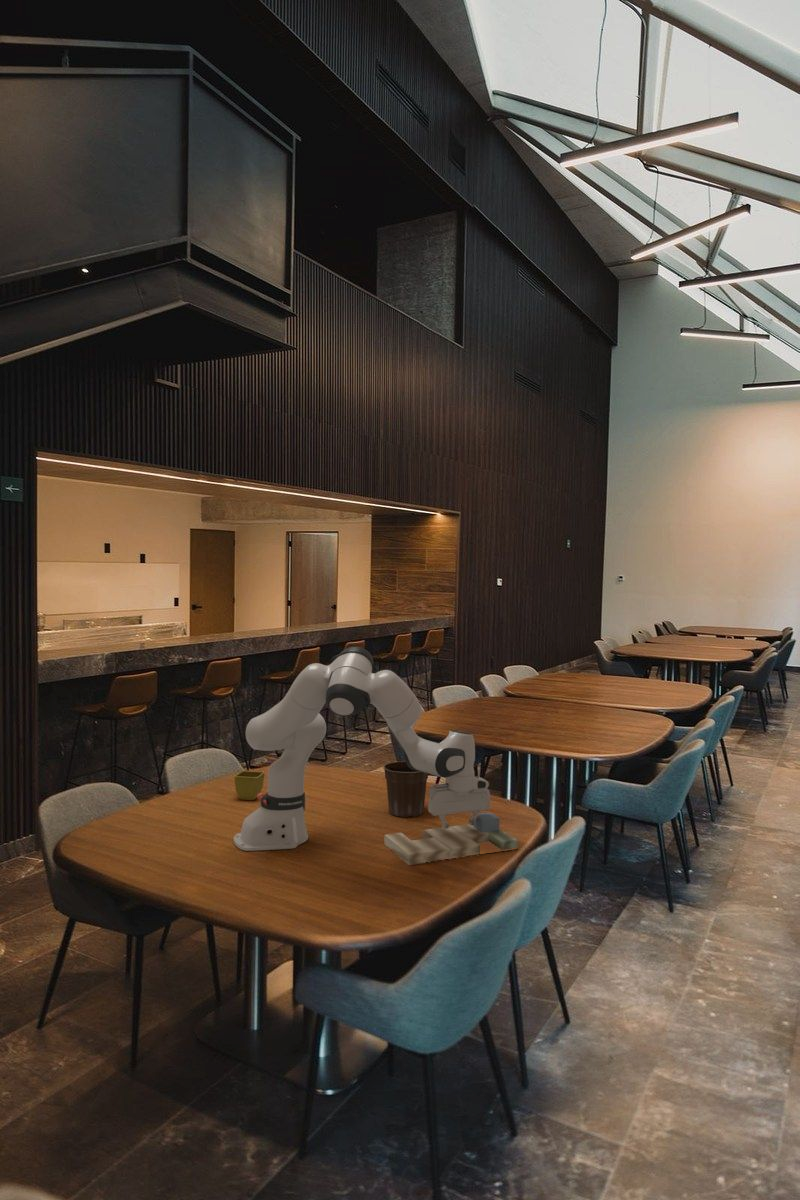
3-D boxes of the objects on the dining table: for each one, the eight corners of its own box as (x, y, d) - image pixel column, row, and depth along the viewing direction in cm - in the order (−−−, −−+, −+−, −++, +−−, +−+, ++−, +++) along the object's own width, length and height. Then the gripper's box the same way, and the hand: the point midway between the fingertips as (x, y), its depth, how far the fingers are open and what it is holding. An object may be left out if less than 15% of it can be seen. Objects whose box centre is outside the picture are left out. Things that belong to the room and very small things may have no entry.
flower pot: (241, 794, 281) (242, 770, 281) (264, 795, 280) (265, 771, 280) (233, 801, 273) (233, 776, 272) (256, 802, 272) (257, 777, 271)
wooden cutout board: (408, 865, 215) (408, 854, 215) (384, 844, 232) (384, 834, 232) (517, 849, 230) (517, 839, 229) (487, 831, 246) (487, 821, 246)
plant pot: (374, 815, 260) (375, 768, 259) (392, 803, 275) (393, 758, 274) (419, 822, 254) (420, 774, 253) (435, 809, 269) (436, 763, 268)
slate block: (482, 832, 235) (482, 819, 235) (473, 826, 241) (473, 814, 241) (499, 830, 238) (499, 817, 238) (489, 824, 243) (490, 812, 243)
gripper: (434, 787, 229) (433, 833, 229) (493, 782, 237) (492, 826, 237) (425, 782, 234) (424, 826, 235) (483, 776, 243) (482, 819, 243)
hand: (458, 826), depth 236 cm, fingers open, 8 cm apart
